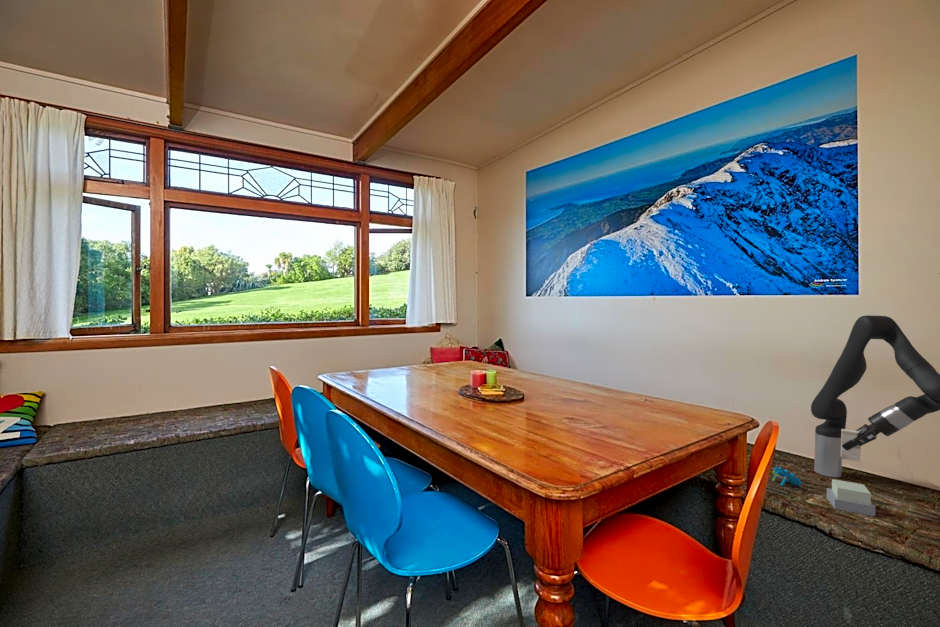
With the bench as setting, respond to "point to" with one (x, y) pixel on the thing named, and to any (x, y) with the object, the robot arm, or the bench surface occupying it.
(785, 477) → the blue toy dinosaur
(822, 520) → the bench surface
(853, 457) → the cream block
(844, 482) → the tower top
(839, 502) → the tower base
